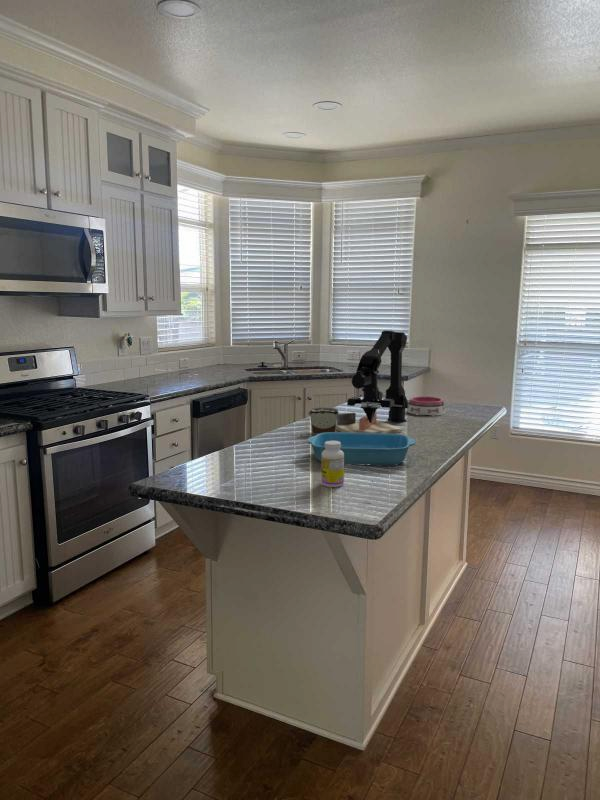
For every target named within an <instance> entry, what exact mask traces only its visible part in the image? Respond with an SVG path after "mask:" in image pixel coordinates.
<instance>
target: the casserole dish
mask: <svg viewBox="0 0 600 800" xmlns="http://www.w3.org/2000/svg"><path fill="white" fill-rule="evenodd" d="M326 441H339V442H341V447H340V450H342V451H343V453H344V465H347V464H365V465H364V466H367V465H366V464H370V465H369V466H376V465H392V466H397V465H396V464H398V465H400V464H402V462H403V461H404V460H405V459H406V456H407V455H408V451H409V447H412V446H414V445H416V443H417V442H416V440H415V439H414V438H412V437H409V436H407V435H406V434H400V433H391V434H387V433H351V432H341V431H338V432H337V431H335V432H326V433H320V434H314V435H313V436H310V437H307V440H306V442H307V444H310V445H311V446H312V450H313V453H314V455H315V458H316V460H318V461H319V462H321V454H322V452H323V451H324V450H325V449H326V448H325V442H326Z"/></svg>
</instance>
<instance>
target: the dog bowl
mask: <svg viewBox="0 0 600 800" xmlns="http://www.w3.org/2000/svg"><path fill="white" fill-rule="evenodd" d="M408 402H409V406H408V408H406V413H407V412H408V413H407V414H409V413H411V414H410V415H412V414H418V415H417V416H419V415H437V414H443V413H445V412H446V408H445V402H444V400H443V399H442V398H440V397H437V396H414V397H413V396H412V397H411V398H409V400H408Z"/></svg>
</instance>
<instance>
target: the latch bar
mask: <svg viewBox="0 0 600 800" xmlns="http://www.w3.org/2000/svg"><path fill="white" fill-rule="evenodd" d="M376 420H377V411H376V412H375V414H374V417H373V420H372V423H370V422H369V420H368V417H367V415H366V414H365V415H364V416H362V417H361V418H359V419H358V422H359V429H366V428H368V427H369V426H371V425H372V424H374V423H375V422H376Z"/></svg>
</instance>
